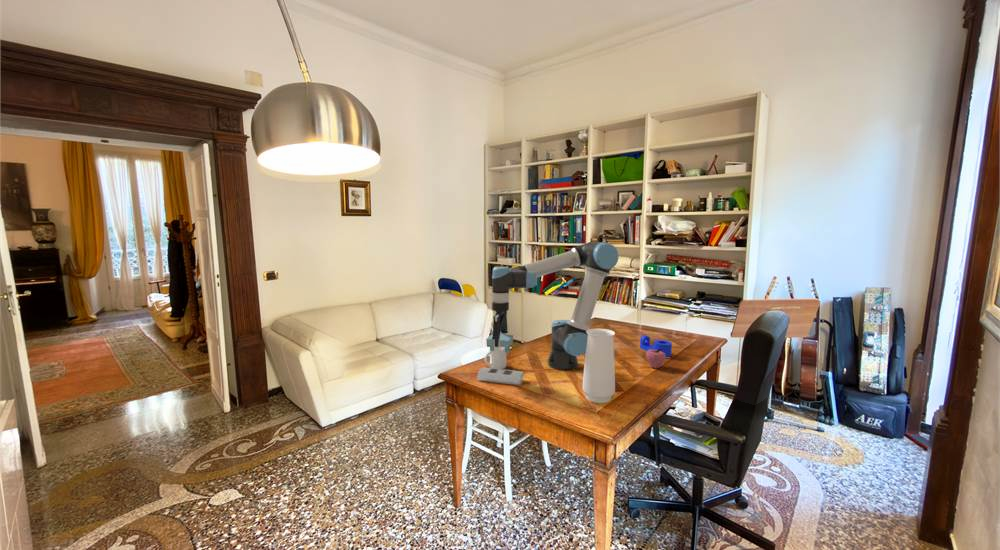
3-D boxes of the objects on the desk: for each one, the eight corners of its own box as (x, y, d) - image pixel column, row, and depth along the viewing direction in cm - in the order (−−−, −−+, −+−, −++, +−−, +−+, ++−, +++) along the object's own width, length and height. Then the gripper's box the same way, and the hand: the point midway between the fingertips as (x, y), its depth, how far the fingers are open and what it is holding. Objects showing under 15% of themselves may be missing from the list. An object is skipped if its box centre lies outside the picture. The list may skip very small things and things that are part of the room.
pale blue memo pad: (512, 349, 185) (513, 335, 184) (507, 355, 176) (508, 340, 175) (492, 347, 187) (492, 333, 186) (486, 352, 179) (486, 338, 178)
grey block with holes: (523, 379, 184) (523, 371, 183) (520, 385, 178) (520, 376, 177) (482, 375, 189) (482, 367, 189) (477, 380, 183) (477, 372, 183)
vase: (619, 404, 159) (622, 336, 155) (587, 405, 158) (589, 337, 154) (608, 390, 172) (610, 327, 168) (578, 391, 171) (580, 328, 167)
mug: (488, 372, 193) (488, 352, 191) (480, 367, 200) (480, 347, 198) (509, 367, 199) (509, 347, 198) (500, 362, 206) (500, 343, 205)
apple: (658, 363, 205) (659, 344, 203) (669, 369, 196) (670, 350, 195) (641, 365, 203) (642, 346, 201) (652, 371, 194) (653, 351, 193)
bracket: (674, 357, 214) (675, 343, 213) (661, 359, 211) (662, 345, 210) (649, 347, 233) (650, 334, 232) (636, 348, 230) (637, 335, 229)
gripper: (499, 296, 190) (498, 342, 193) (484, 305, 169) (484, 356, 172) (514, 297, 188) (513, 344, 191) (501, 306, 167) (501, 358, 170)
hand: (500, 350), depth 182 cm, fingers closed on pale blue memo pad, 9 cm apart
